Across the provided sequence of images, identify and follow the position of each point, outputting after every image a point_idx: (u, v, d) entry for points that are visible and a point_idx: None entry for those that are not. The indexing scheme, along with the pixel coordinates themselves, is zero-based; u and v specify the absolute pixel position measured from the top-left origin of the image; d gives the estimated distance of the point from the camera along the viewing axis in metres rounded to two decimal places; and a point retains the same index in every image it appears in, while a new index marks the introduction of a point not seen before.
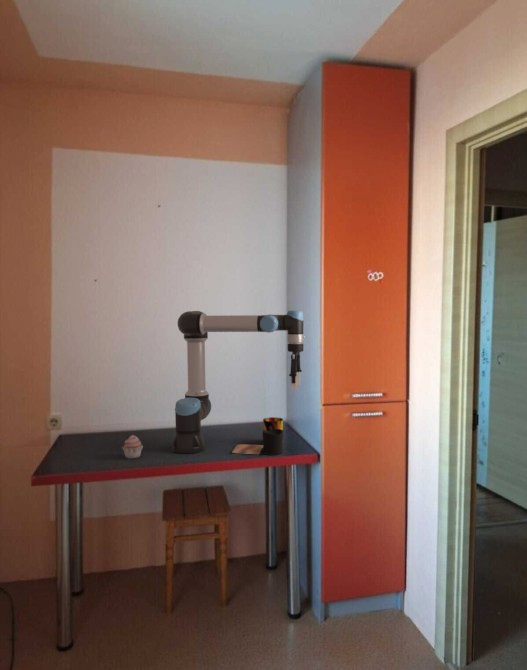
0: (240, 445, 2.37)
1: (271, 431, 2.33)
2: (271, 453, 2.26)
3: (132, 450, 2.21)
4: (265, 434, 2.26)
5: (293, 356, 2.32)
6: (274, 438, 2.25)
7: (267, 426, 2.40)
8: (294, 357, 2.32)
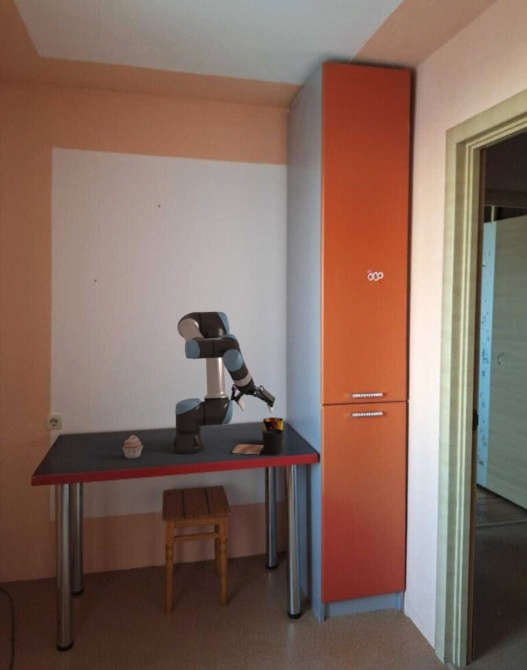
0: (240, 445, 2.37)
1: (271, 431, 2.33)
2: (271, 453, 2.26)
3: (132, 450, 2.21)
4: (265, 434, 2.26)
5: None
6: (274, 438, 2.25)
7: (267, 426, 2.40)
8: None
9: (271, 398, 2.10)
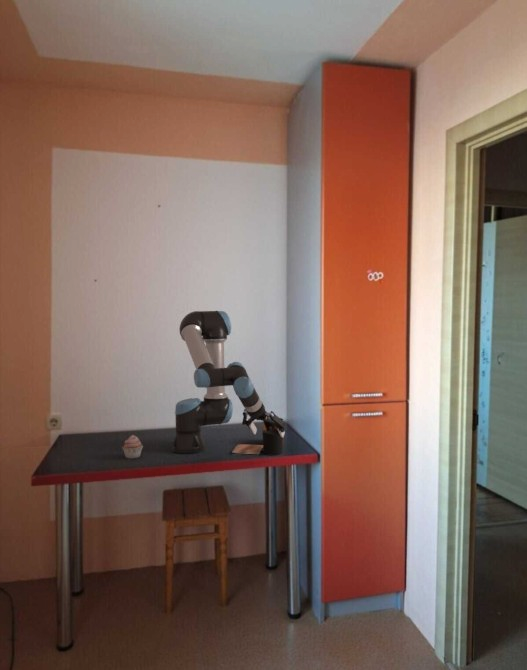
0: (240, 445, 2.37)
1: (271, 431, 2.33)
2: (271, 453, 2.26)
3: (132, 450, 2.21)
4: (265, 434, 2.26)
5: None
6: (274, 438, 2.25)
7: (267, 426, 2.40)
8: None
9: (282, 424, 2.13)
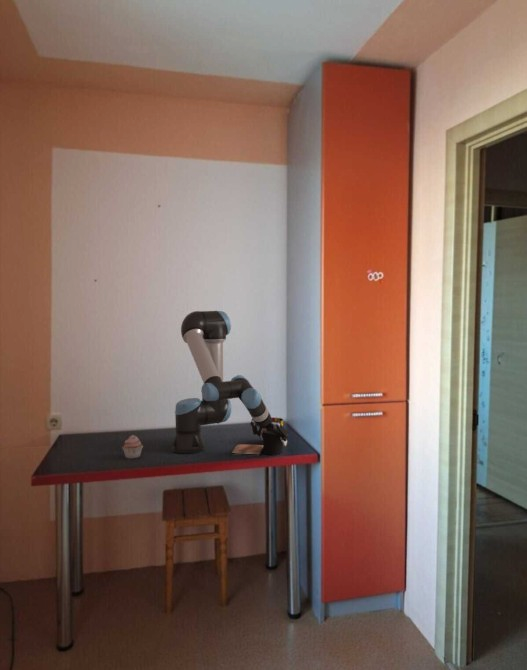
0: (240, 445, 2.37)
1: (271, 431, 2.34)
2: (271, 453, 2.26)
3: (132, 450, 2.21)
4: (265, 434, 2.26)
5: None
6: (274, 438, 2.25)
7: None
8: None
9: (285, 433, 2.23)
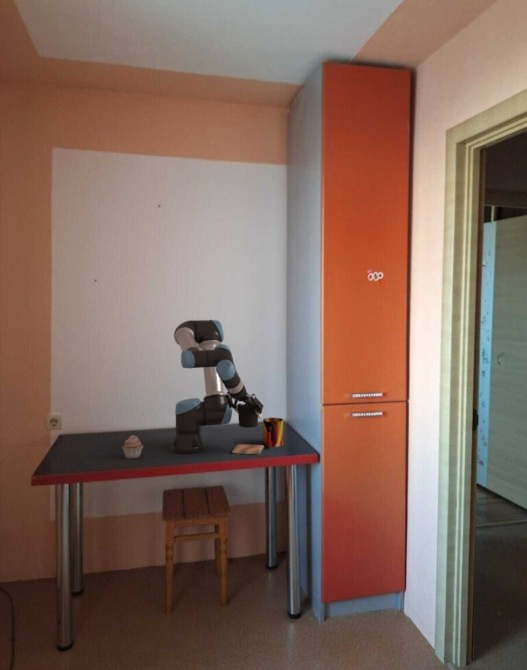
0: (240, 445, 2.37)
1: (246, 404, 2.36)
2: (246, 425, 2.28)
3: (132, 450, 2.21)
4: (240, 407, 2.29)
5: None
6: (249, 411, 2.28)
7: (267, 426, 2.40)
8: None
9: (260, 406, 2.25)
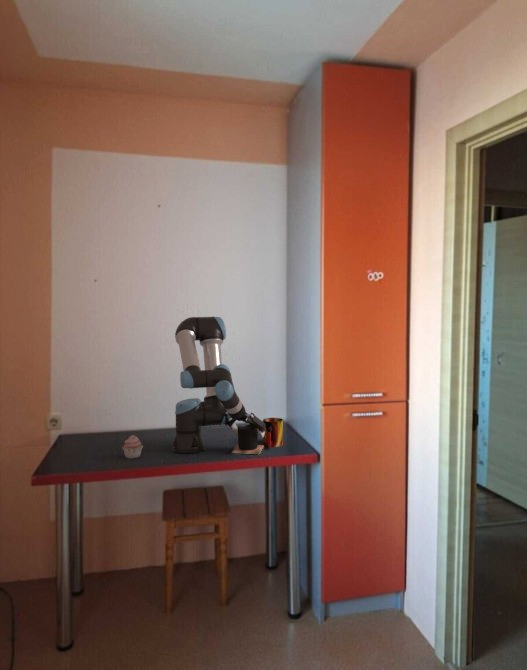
0: None
1: (246, 426, 2.36)
2: (246, 448, 2.29)
3: (132, 450, 2.21)
4: (240, 429, 2.29)
5: None
6: (248, 433, 2.28)
7: (267, 426, 2.40)
8: None
9: (261, 424, 2.24)
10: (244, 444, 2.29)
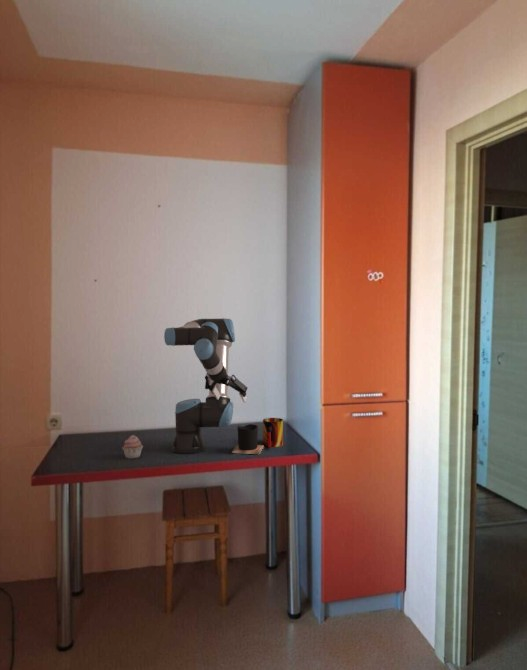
0: None
1: (246, 426, 2.36)
2: (246, 448, 2.29)
3: (132, 450, 2.21)
4: (240, 429, 2.29)
5: None
6: (248, 433, 2.28)
7: (267, 426, 2.40)
8: None
9: (243, 387, 2.15)
10: (244, 444, 2.29)
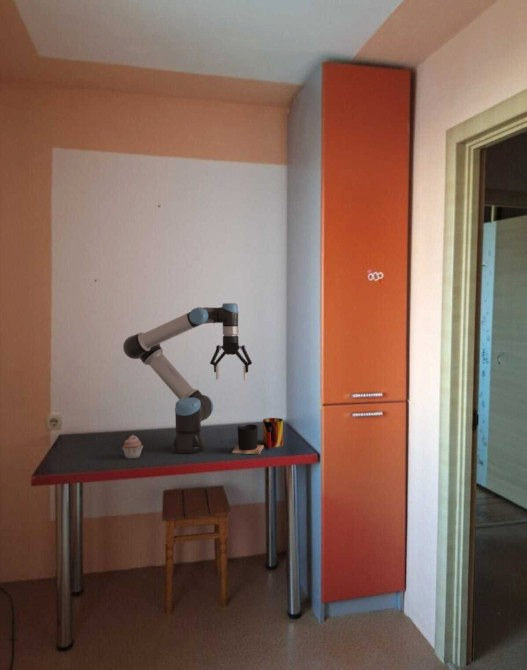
0: None
1: (246, 426, 2.36)
2: (246, 448, 2.29)
3: (132, 450, 2.21)
4: (240, 429, 2.29)
5: None
6: (248, 433, 2.28)
7: (267, 427, 2.39)
8: None
9: (249, 359, 2.41)
10: (244, 444, 2.29)
